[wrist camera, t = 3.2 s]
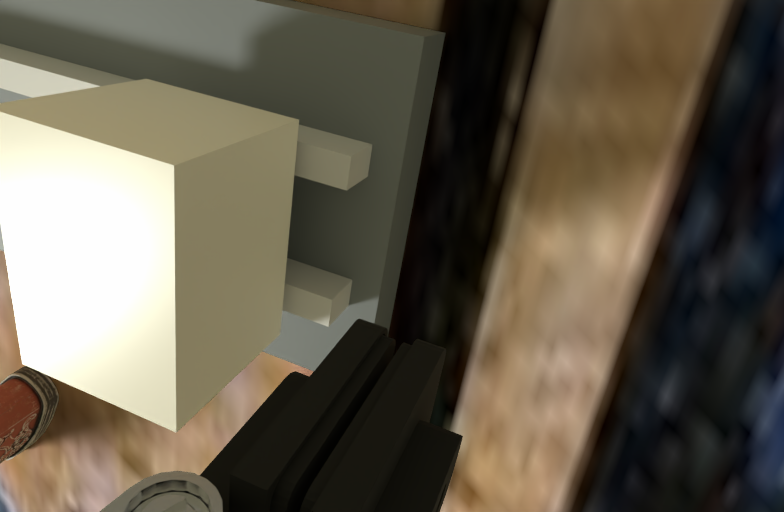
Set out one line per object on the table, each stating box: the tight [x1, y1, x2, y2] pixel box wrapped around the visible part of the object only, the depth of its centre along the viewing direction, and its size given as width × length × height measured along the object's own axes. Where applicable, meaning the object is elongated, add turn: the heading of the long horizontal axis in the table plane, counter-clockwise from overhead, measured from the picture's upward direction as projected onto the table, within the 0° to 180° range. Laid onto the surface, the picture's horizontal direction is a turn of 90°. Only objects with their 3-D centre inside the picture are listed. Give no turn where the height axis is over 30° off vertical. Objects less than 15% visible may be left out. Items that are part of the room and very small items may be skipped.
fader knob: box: [0, 79, 299, 432], centre depth 17 cm, size 5×7×6 cm
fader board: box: [0, 0, 445, 371], centre depth 22 cm, size 26×12×4 cm, turn 81°
